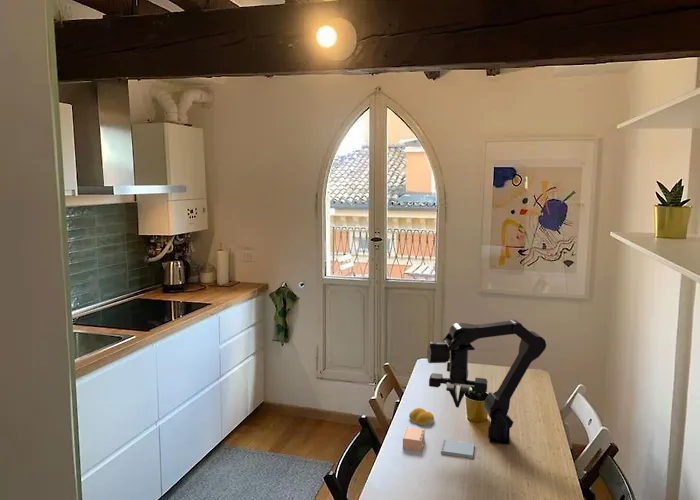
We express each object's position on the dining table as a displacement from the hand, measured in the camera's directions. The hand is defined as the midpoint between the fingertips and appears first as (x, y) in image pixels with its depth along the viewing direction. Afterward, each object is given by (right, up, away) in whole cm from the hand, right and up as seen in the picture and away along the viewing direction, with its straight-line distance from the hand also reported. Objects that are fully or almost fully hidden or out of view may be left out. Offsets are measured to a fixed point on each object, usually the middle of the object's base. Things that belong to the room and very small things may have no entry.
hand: (457, 407), depth 181 cm
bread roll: (-10, -10, +17) cm, 22 cm away
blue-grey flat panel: (-1, -13, -4) cm, 13 cm away
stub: (-15, -12, 0) cm, 19 cm away
